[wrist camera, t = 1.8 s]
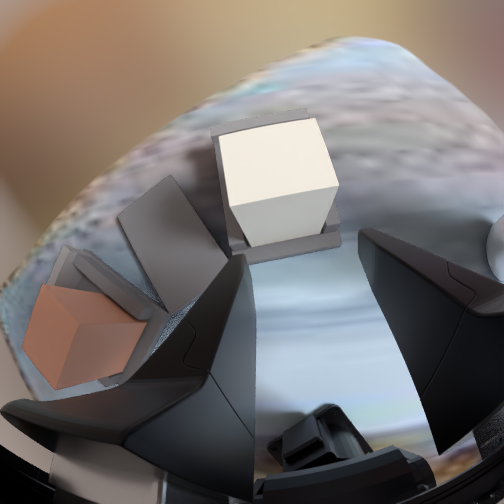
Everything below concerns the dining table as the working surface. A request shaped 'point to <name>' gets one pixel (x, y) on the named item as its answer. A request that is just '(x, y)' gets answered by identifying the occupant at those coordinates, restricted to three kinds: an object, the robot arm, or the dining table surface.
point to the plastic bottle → (496, 249)
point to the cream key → (278, 180)
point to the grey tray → (179, 250)
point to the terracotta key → (79, 336)
